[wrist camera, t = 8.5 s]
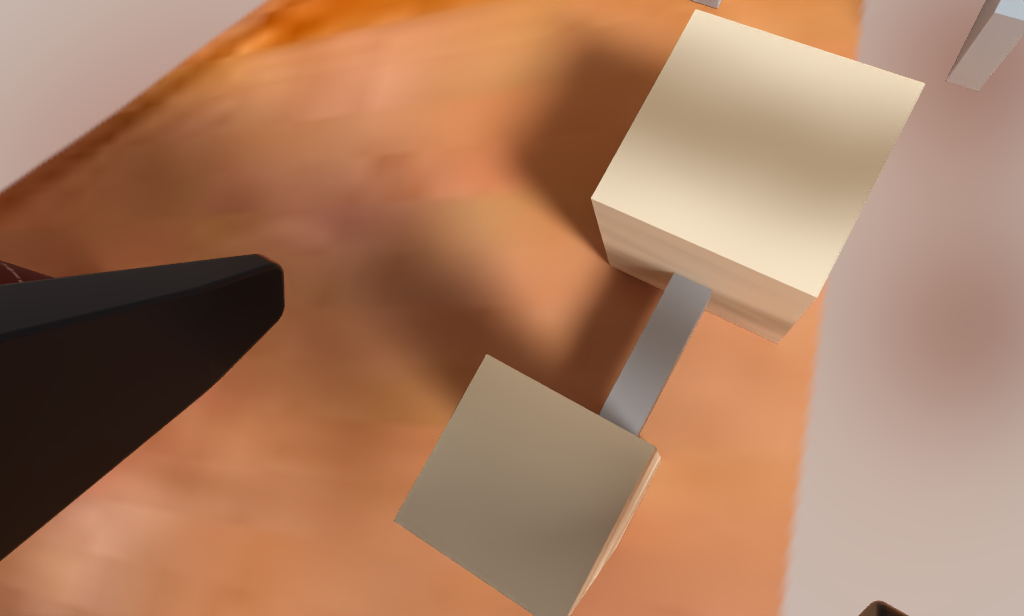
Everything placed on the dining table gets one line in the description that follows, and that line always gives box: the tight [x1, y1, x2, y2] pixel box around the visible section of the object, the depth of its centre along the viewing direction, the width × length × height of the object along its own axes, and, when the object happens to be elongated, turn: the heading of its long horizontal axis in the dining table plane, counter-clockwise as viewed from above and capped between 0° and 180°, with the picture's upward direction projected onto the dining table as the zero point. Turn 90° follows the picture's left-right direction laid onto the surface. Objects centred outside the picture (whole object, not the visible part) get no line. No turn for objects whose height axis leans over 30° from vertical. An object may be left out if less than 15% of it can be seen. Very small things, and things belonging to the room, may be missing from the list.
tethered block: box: [394, 9, 925, 616], centre depth 16 cm, size 14×6×12 cm, turn 150°
